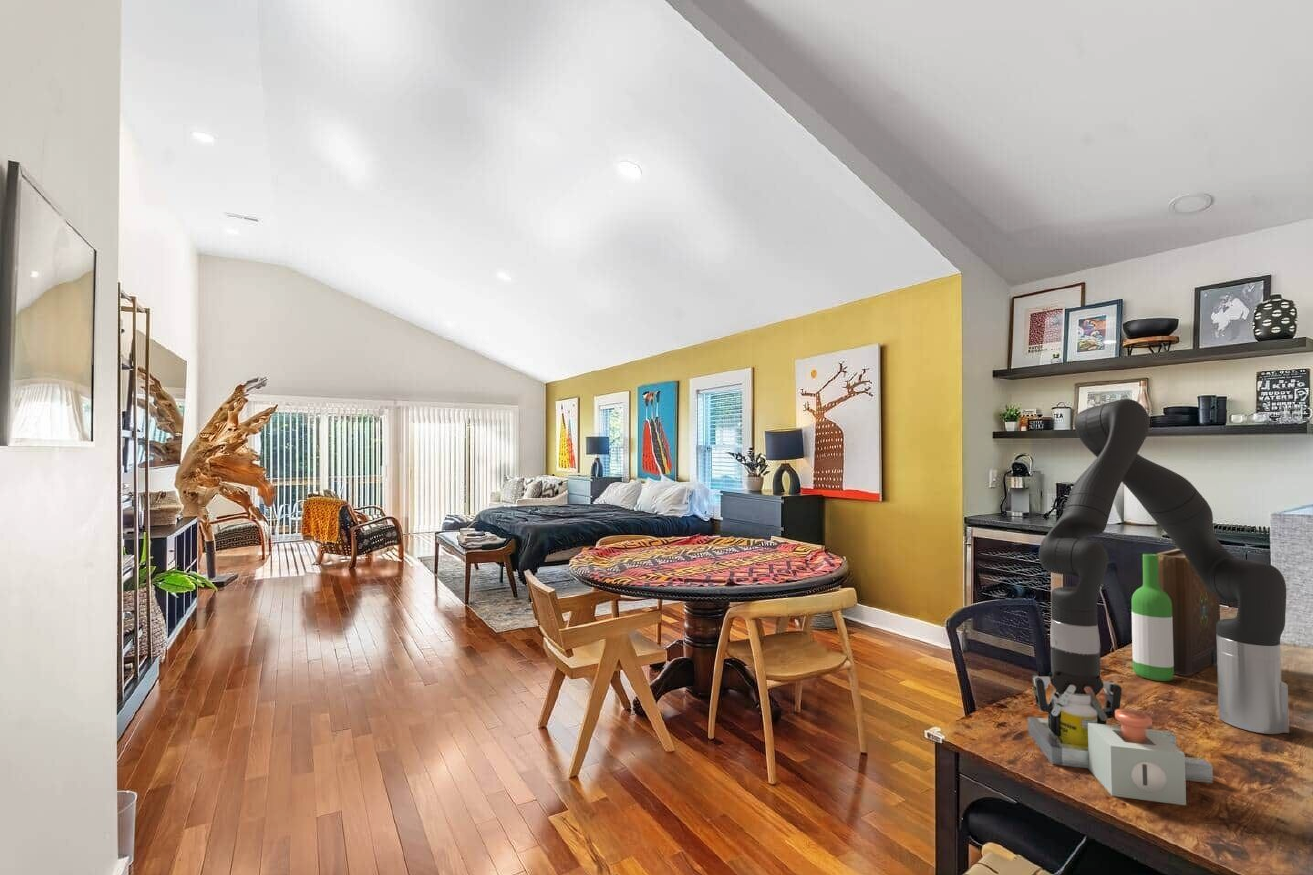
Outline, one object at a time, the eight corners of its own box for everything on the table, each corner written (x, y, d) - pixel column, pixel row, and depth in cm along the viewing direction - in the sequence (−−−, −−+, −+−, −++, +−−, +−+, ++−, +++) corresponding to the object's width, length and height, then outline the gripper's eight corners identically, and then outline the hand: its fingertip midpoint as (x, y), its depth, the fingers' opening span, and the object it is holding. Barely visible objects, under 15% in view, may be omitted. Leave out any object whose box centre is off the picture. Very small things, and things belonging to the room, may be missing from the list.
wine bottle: (1162, 684, 140) (1159, 558, 141) (1125, 673, 147) (1123, 553, 148) (1181, 679, 143) (1178, 555, 144) (1144, 668, 150) (1141, 550, 151)
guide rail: (1170, 747, 111) (1169, 731, 111) (1212, 783, 99) (1212, 765, 99) (1028, 732, 117) (1027, 716, 117) (1052, 764, 105) (1051, 746, 105)
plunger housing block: (1156, 776, 101) (1155, 729, 101) (1188, 807, 92) (1186, 755, 92) (1088, 768, 103) (1087, 722, 103) (1113, 797, 95) (1112, 747, 95)
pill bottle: (1049, 743, 112) (1047, 684, 112) (1079, 741, 113) (1078, 683, 113) (1074, 760, 106) (1073, 698, 106) (1106, 758, 106) (1105, 697, 107)
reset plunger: (1142, 734, 100) (1142, 710, 100) (1158, 748, 95) (1158, 723, 95) (1109, 730, 101) (1109, 707, 101) (1123, 744, 96) (1123, 719, 96)
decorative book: (1188, 653, 162) (1185, 543, 162) (1223, 661, 155) (1220, 547, 156) (1153, 670, 149) (1150, 551, 150) (1190, 679, 143) (1187, 555, 144)
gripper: (1110, 642, 111) (1112, 731, 111) (1024, 636, 115) (1026, 722, 115) (1130, 655, 104) (1132, 751, 104) (1038, 648, 108) (1040, 741, 108)
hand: (1076, 735), depth 109 cm, fingers closed on pill bottle, 6 cm apart
